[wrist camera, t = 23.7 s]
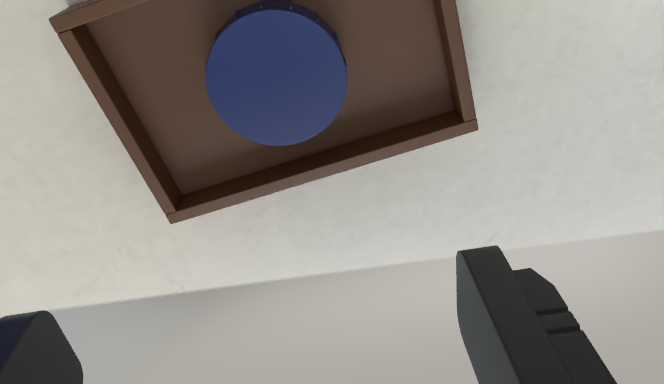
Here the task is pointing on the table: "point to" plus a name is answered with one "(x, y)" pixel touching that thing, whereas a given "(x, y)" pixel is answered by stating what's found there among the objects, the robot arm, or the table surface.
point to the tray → (232, 148)
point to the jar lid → (276, 73)
